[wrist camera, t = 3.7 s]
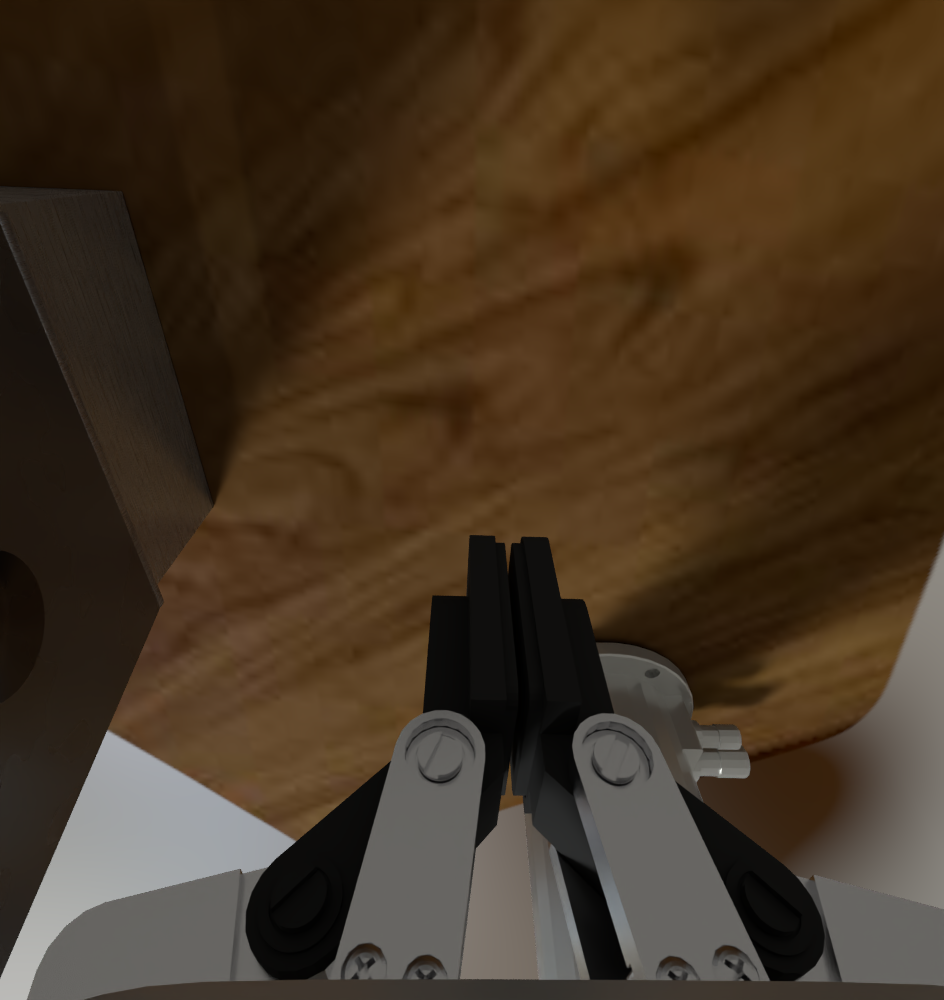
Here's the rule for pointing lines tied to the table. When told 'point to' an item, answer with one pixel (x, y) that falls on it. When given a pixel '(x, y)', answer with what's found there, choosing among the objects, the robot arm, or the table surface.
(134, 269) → the cooker pot
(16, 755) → the lid
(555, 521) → the table surface
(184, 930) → the robot arm
